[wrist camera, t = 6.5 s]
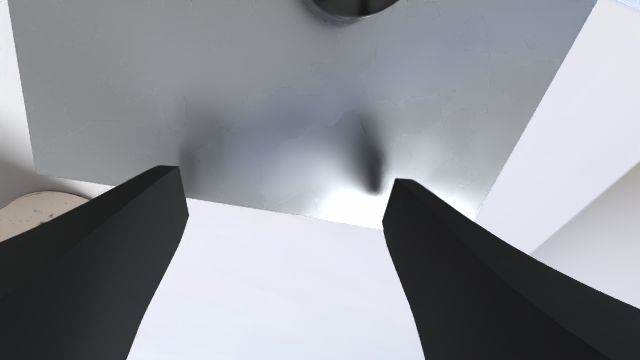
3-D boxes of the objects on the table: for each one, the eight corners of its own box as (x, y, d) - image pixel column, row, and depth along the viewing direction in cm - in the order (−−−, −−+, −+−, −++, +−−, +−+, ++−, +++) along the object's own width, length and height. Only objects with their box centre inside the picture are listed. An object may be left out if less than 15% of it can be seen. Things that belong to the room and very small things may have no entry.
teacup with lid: (19, 254, 24) (-173, 430, 14) (-6, 172, 19) (-316, 347, 9) (165, 277, 27) (92, 433, 17) (174, 211, 22) (81, 373, 13)
